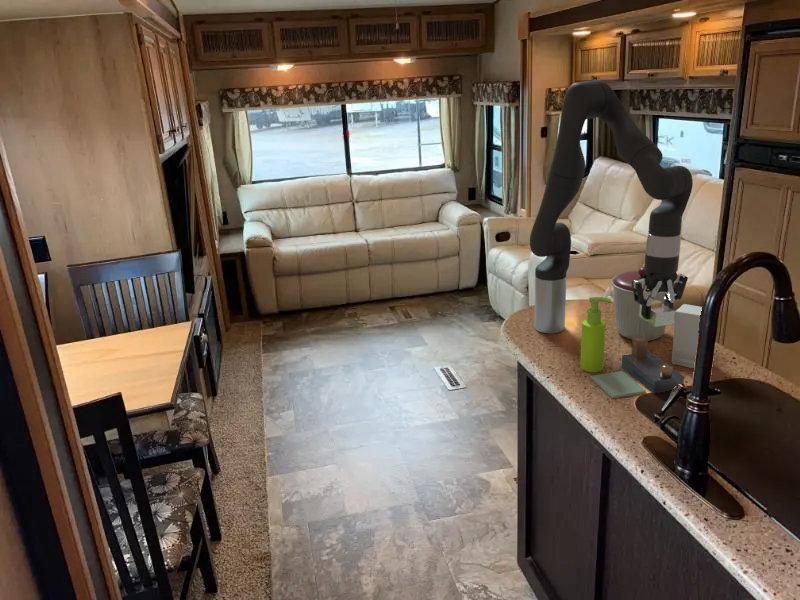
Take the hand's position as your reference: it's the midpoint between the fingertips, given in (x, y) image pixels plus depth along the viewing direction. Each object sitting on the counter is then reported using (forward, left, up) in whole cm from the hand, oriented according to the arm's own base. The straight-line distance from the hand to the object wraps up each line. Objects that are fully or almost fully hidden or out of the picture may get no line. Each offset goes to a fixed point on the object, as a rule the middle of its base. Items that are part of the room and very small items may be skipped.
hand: (656, 316), depth 152 cm
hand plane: (0, 0, -17) cm, 17 cm away
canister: (-25, +12, -17) cm, 33 cm away
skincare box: (-4, +14, -17) cm, 23 cm away
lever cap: (0, 0, -1) cm, 1 cm away
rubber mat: (+1, -10, -17) cm, 20 cm away
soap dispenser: (-10, -11, -17) cm, 23 cm away
